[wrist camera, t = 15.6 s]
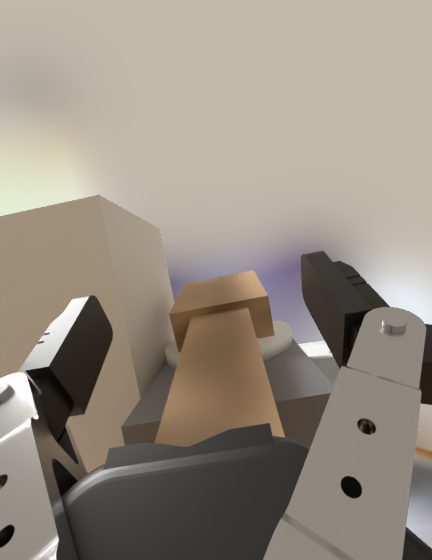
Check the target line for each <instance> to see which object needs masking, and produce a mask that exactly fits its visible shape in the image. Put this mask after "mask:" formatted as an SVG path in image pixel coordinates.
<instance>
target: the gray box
mask: <svg viewBox="0 0 432 560" xmlns="http://www.w3.org/2000/svg"><path fill="white" fill-rule="evenodd" d="M272 323H273V329H274V336H269V337H263V338H257V341H258V344H259V348H260V351H261V355H262V358H263V362H264V365H265V369H266V372H267V376H268V379H269V383H270V386H271V390H272V393H273V397H274V400H275V404H276V407H277V411H278V414H279V418H280V421H281V425H282V428H283V432H284V435H285V438H288V439H292V440H295V441H297V442H300V443H303V444H304V445H306V446H308V447H311V445H312V442H313V439H314V437H315V434H316V431H317V429H318V426H319V423H320V421H321V418H322V415H323V413H324V410H325V408H326V405H327V402H328V400H329V397H330V394H331V392H332V389H333V386H334V385H333V384H332V383H331V382H330V381H329V380H328V379H327V377H326V376H325V375H324V374H323V373H322V372H321V370H320V369H319V368H318V367H317V366H316V365H315V364H314V362H313V361H312V360H311V359H310V358H309V357H308V356H307V354H306V353H305V352H304V351H303V350H302V349H301V347H300V346H299V345H298V344H297V343H296V342H295V341H294V339H293V338H292V333H291V327H290V325H289V324H287V323H285V322H281V321H274V320H272ZM165 354H166V359H167V362H166V364H165V365H164V367H163V368H162V369H161V371H160V372H159V374H158V375H157V377H156V378H155V379H154V381H153V382H152V384H151V385H150V387H149V388H148V389H147V391H146V392H145V394H144V395H143V396H142V398H141V399H140V401H139V402H138V404H137V405H136V406H135V408H134V409H133V411H132V412H131V414H130V415H129V416H128V418H127V419H126V421H125V422H124V423H123V425H122V426H121V429H122V434H123V439H124V444H125V446H127V445H133V444H139V443H146V442H150V443H155V439H156V436H157V433H158V429H159V426H160V422H161V419H162V415H163V412H164V409H165V405H166V402H167V398H168V395H169V391H170V388H171V385H172V381H173V378H174V374H175V371H176V368H177V364H178V361H179V357H180V354H181V352H178V348H177V344H176V340H175V341H173V342H172V343H170V344H169V345H168V346H167V347H166V349H165Z"/></svg>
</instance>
